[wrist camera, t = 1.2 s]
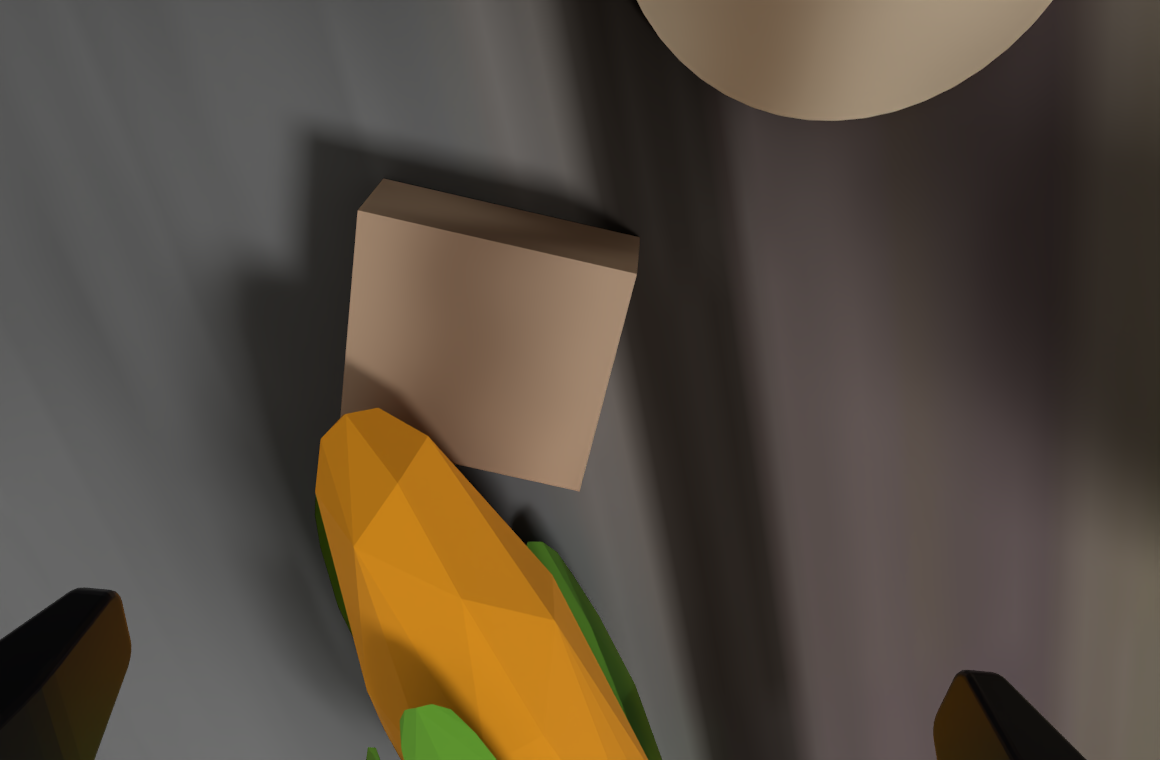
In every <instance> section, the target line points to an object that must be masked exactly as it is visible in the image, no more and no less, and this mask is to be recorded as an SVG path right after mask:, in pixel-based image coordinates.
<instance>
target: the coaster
mask: <svg viewBox="0 0 1160 760" xmlns="http://www.w3.org/2000/svg"><path fill="white" fill-rule="evenodd" d="M1052 1H1053V0H637V2H638V4H639V6H640V8H641V10H642V12H643V14H644V15H645V17H646V18H647V20H648V21H649V23H650V24H651V26H652V27H653V29H654V30H655V31H656V33H657V34H658V36H659V37H660V39H661V40H662V41H663V42H664V43H665V45H666V46H667V47H668V48H669V49H670V50H671V51H672V52H673V54H674V55H675V56H676V57H677V58H678V59H679V60H680V61H681V62H682V63H683V64H684V65H685V66H687V67H688V68H689V69H690V70H691V71H692V72H694V73H695V74H696V75H697V76H698V77H699V78H701V79H702V80H703V81H705V82H706V83H708V84H709V85H711V86H712V87H714V88H716V89H717V90H719V91H720V92H722V93H723V94H725V95H727V96H729V97H731V98H733V99H735V100H737V101H740V102H742V103H744V104H746V105H748V106H750V107H753V108H756V109H760V110H763V111H766V112H769V113H773V114H776V115H780V116H786V117H792V118H798V119H804V120H822V121H840V120H851V119H861V118H868V117H873V116H877V115H882V114H886V113H891V112H895V111H898V110H901V109H904V108H907V107H909V106H912V105H915V104H918V103H921V102H924V101H926V100H928V99H930V98H932V97H934V96H936V95H938V94H940V93H943V92H945V91H947V90H949V89H951V88H953V87H955V86H956V85H958V84H959V83H961V82H963V81H964V80H966V79H967V78H969V77H970V76H972V75H974V74H975V73H977V72H978V71H980V70H982V69H983V68H984V67H985V66H987V65H988V64H989V63H990V62H992V61H993V60H994V59H995V58H997V57H998V56H999V55H1001V54H1002V53H1003V52H1004V51H1006V50H1007V49H1008V48H1009V47H1010V46H1011V45H1012V44H1013V43H1014V42H1015V41H1016V40H1017V39H1018V38H1019V37H1020V36H1021V35H1022V34H1023V33H1024V32H1026V31H1027V30H1028V29H1029V28H1030V27H1031V26H1032V25H1033V24H1034V23H1035V21H1036V20H1037V19H1038V18H1039V16H1040V15H1041V14H1042V13H1043V12H1044V10H1045V9H1046V8H1047V7H1048V6H1049V4H1050V3H1051V2H1052Z"/></svg>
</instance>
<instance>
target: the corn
mask: <svg viewBox="0 0 1160 760" xmlns="http://www.w3.org/2000/svg"><path fill="white" fill-rule="evenodd" d="M315 493H316V501H315V518H316V524H317V530H318V536H319V542H320V547H321V551H322V554H323V557H324V561H325V564H326V567H327V571H328V574H329V577H330V581H331V584H332V588H333V591H334V594H335V598H336V601H337V604H338V607H339V609H340V611H341V613H342V616H343V618H344V620H345V622H346V624H347V626H348V628H349V630H350V632H351V634H352V636H353V639H354V643H355V646H356V650H357V654H358V658H359V662H360V666H361V669H362V673H363V677H364V681H365V685H366V689H367V692H368V694H369V696H370V698H371V701H372V703H373V705H374V707H375V710H376V712H377V714H378V716H379V719H380V721H381V723H382V725H383V727H384V730H385V732H386V733H387V735H388V737H389V739H390V741H391V742H392V744H393V746H394V748H395V750H396V751H397V753H398V755H399V757H400V759H401V760H662V758H661V756H660V753H659V750H658V747H657V744H656V742H655V739H654V736H653V733H652V730H651V728H650V725H649V722H648V719H647V717H646V714H645V711H644V708H643V705H642V703H641V700H640V697H639V694H638V692H637V689H636V686H635V684H634V682H633V680H632V678H631V676H630V674H629V672H628V670H627V668H626V667H625V665H624V663H623V661H622V659H621V657H620V655H619V653H618V651H617V649H616V648H615V646H614V644H613V642H612V640H611V638H610V636H609V634H608V632H607V630H606V629H605V627H604V625H603V623H602V621H601V619H600V617H599V615H598V614H597V612H596V611H595V609H594V607H593V606H592V604H591V603H590V601H589V600H588V598H587V596H586V595H585V593H584V592H583V590H582V588H581V587H580V585H579V584H578V582H577V581H576V579H575V577H574V576H573V575H572V573H571V572H570V570H569V569H568V567H567V566H566V564H565V563H564V561H563V560H562V559H561V557H560V556H559V554H558V553H557V552H556V551H555V550H553V549H552V548H550V547H549V546H548V545H546V544H545V543H543V542H528V543H527V546H526V545H525V544H524V543H523V541H522V540H521V539H520V538H519V537H518V536H517V535H516V534H515V532H514V531H513V530H512V529H511V528H510V527H509V526H508V525H507V524H506V522H505V521H504V520H503V519H502V518H501V517H500V516H499V515H498V514H497V512H496V511H495V510H494V509H493V508H492V507H491V506H490V505H489V503H488V502H487V501H486V500H485V499H484V498H483V497H482V496H481V495H480V493H479V492H478V491H477V490H476V489H475V488H474V487H473V486H472V484H471V483H470V482H469V481H468V480H467V479H466V478H465V477H464V476H463V474H462V473H461V472H460V471H459V470H458V469H457V468H456V467H455V465H454V464H453V463H452V462H451V461H450V460H449V459H448V458H447V457H446V455H445V454H444V453H443V452H442V451H441V450H440V449H439V448H438V446H437V445H436V444H435V443H434V442H433V441H432V440H431V439H430V438H429V436H427V435H425V434H424V433H422V432H420V431H418V430H417V429H415V428H413V427H411V426H410V425H408V424H406V423H404V422H403V421H401V420H399V419H397V418H396V417H394V416H392V415H390V414H389V413H387V412H385V411H383V410H382V409H380V408H374V409H369V410H363V411H358V412H353V413H348V414H344V415H342V416H341V418H340V419H339V420H338V421H337V422H336V423H335V424H334V425H333V426H332V427H331V428H330V429H329V431H328V432H327V433H326V434H325V435H324V436H323V437H322V438H321V441H320V450H319V460H318V470H317V479H316V489H315ZM366 760H380V758H379V755H378V752H377V750H376V748H370V747H368V751H367V759H366Z"/></svg>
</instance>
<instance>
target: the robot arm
mask: <svg viewBox="0 0 1160 760" xmlns="http://www.w3.org/2000/svg"><path fill="white" fill-rule="evenodd" d="M130 656H131V640H130V636H129V631H128V627H127V622H126V618H125V613H124V609H123V604H122V600H121V598H120V596H119V595H118V593H117V592H115V591H112V590H105V589H94V588H77V589H74V590H72V591H70V592H68V593H67V594H65V595H64V596H63V597H61V598H60V599H58V600H57V601H55V602H54V603H52V604H51V605H50V606H48V607H47V608H45V609H44V610H42V611H41V612H39V613H38V614H37V615H35V616H34V617H32V618H31V619H29V620H28V621H27V622H25V623H24V624H22V625H21V626H19V627H18V628H16V629H15V630H14V631H12V632H11V633H9V634H8V635H6V636H5V637H3V638H2V639H1V640H0V760H94V759H95V757H96V754H97V751H98V748H99V746H100V743H101V740H102V737H103V734H104V732H105V729H106V726H107V723H108V721H109V718H110V715H111V712H112V710H113V707H114V704H115V701H116V699H117V696H118V693H119V690H120V688H121V685H122V682H123V679H124V676H125V674H126V671H127V668H128V665H129V661H130ZM933 736H934V744H935V750H936V756H937V760H1086V759H1085V758H1084V757H1083V756H1082V755H1081V754H1080V753H1079V752H1078V751H1077V750H1076V749H1075V748H1074V747H1073V746H1072V745H1071V744H1070V743H1069V742H1068V741H1067V740H1066V739H1065V738H1064V737H1063V736H1062V735H1061V734H1060V733H1059V732H1058V731H1057V730H1056V729H1055V728H1054V727H1053V726H1052V725H1051V724H1050V723H1049V722H1048V721H1047V720H1046V719H1045V718H1044V717H1043V716H1042V715H1041V714H1040V713H1039V712H1038V711H1037V710H1036V709H1035V708H1034V707H1033V706H1032V705H1031V704H1030V703H1029V702H1028V701H1027V700H1026V699H1025V698H1024V697H1023V696H1022V695H1021V694H1020V693H1019V692H1018V691H1017V690H1016V689H1015V688H1014V687H1013V686H1012V685H1011V684H1010V683H1009V682H1008V681H1007V680H1006V679H1005V678H1003V677H1002V676H1000V675H999V674H996V673H993V672H984V671H974V670H962V671H960V672H959V673H958V674H956V676H955V677H954V679H953V681H952V683H951V685H950V687H949V689H948V692H947V694H946V696H945V698H944V700H943V702H942V704H941V706H940V708H939V710H938V712H937V714H936V717H935V721H934V728H933Z"/></svg>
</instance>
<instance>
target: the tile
mask: <svg viewBox="0 0 1160 760" xmlns="http://www.w3.org/2000/svg"><path fill="white" fill-rule="evenodd" d="M639 243H640V237H636V236H632V235H627V234H623V233H619V232H614V231H610V230H606V229H601V228H597V227H593V226H588V225H584V224H580V223H575V222H571V221H566V220H562V219H558V218H553V217H549V216H545V215H540V214H536V213H532V212H527V211H523V210H519V209H514V208H510V207H506V206H501V205H497V204H492V203H488V202H484V201H479V200H475V199H471V198H466V197H462V196H458V195H453V194H449V193H445V192H440V191H436V190H431V189H427V188H423V187H418V186H414V185H410V184H405V183H401V182H397V181H392V180H388V179H384V178H383V180H382V181H381V182H380V183H379V184H378V186H377V187H376V188H375V189H374V191H373V192H372V193H371V194H370V196H369V197H368V198H367V199H366V201H365V202H364V203H363V204H362V206H361V207H360V208H359V209H358V213H357V225H356V237H355V248H354V260H353V272H352V284H351V296H350V308H349V320H348V332H347V344H346V356H345V368H344V379H343V391H342V403H341V415H340V418H341V416H342V415H344V414H348V413H353V412H358V411H363V410H369V409H374V408H380V409H382V410H383V411H385V412H387V413H389V414H390V415H392V416H394V417H396V418H397V419H399V420H401V421H403V422H404V423H406V424H408V425H410V426H411V427H413V428H415V429H417V430H418V431H420V432H422V433H424V434H425V435H427V436H429V438H430V439H431V440H432V441H433V442H434V443H435V444H436V445H437V446H438V448H439V449H440V450H441V451H442V452H443V453H444V454H445V455H446V457H447V458H448V459H449V460H450V461H451V462H452V463H453V464H458V465H462V466H467V467H472V468H476V469H481V470H485V471H490V472H494V473H499V474H503V475H508V476H512V477H517V478H521V479H526V480H531V481H535V482H540V483H544V484H549V485H553V486H558V487H562V488H567V489H571V490H576V491H580V487H581V483H582V480H583V476H584V472H585V468H586V465H587V461H588V457H589V453H590V449H591V446H592V442H593V438H594V434H595V430H596V427H597V423H598V419H599V415H600V412H601V408H602V404H603V400H604V396H605V393H606V389H607V385H608V381H609V377H610V374H611V370H612V366H613V362H614V358H615V355H616V351H617V347H618V343H619V340H620V336H621V332H622V328H623V324H624V321H625V317H626V313H627V309H628V305H629V302H630V298H631V294H632V290H633V287H634V283H635V279H636V275H637V266H638V255H639Z"/></svg>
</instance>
